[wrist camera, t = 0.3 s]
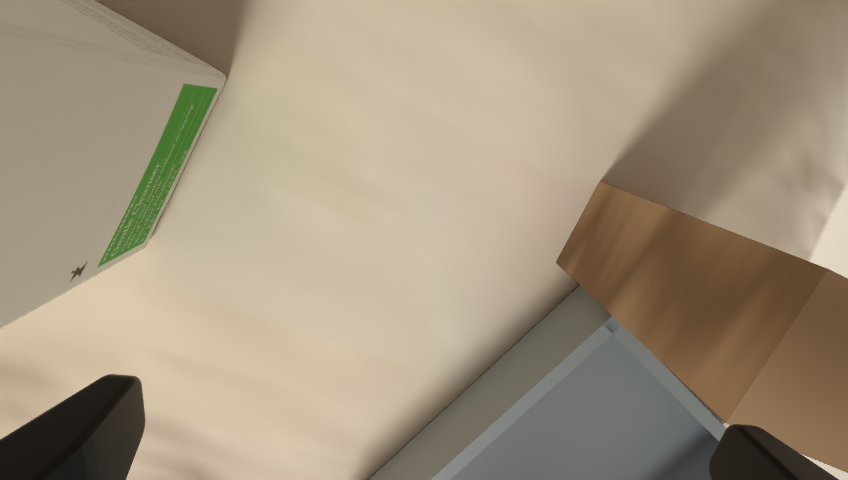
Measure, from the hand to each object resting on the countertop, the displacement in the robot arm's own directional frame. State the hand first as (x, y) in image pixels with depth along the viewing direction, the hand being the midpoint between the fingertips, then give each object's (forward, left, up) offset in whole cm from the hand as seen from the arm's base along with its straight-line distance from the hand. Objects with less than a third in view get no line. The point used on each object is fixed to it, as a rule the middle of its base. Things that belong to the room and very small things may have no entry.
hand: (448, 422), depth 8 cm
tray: (-5, -14, -15) cm, 21 cm away
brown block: (+6, -8, -15) cm, 18 cm away
